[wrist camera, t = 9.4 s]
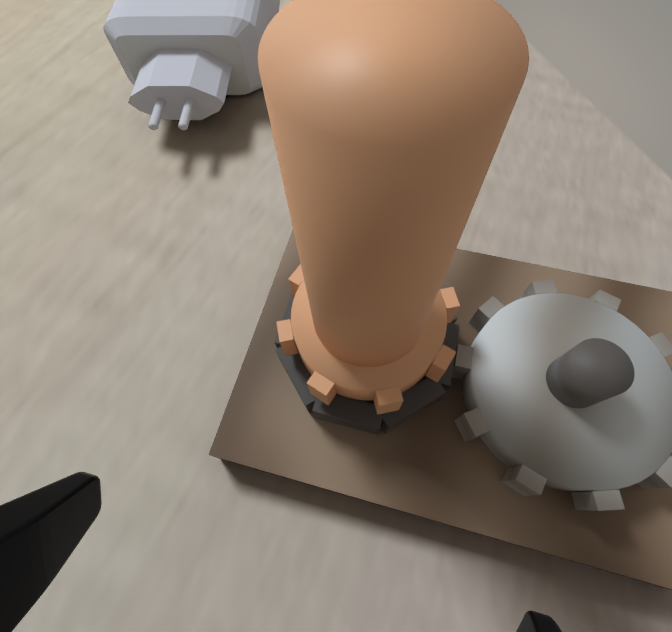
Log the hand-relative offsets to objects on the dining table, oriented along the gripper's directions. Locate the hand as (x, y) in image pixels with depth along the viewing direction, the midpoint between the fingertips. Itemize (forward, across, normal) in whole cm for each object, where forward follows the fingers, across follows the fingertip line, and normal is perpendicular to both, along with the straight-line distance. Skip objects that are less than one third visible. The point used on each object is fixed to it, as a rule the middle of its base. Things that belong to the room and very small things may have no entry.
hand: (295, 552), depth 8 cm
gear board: (+12, -4, +1) cm, 12 cm away
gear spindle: (+10, 0, 0) cm, 10 cm away
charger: (+24, +15, -11) cm, 30 cm away
